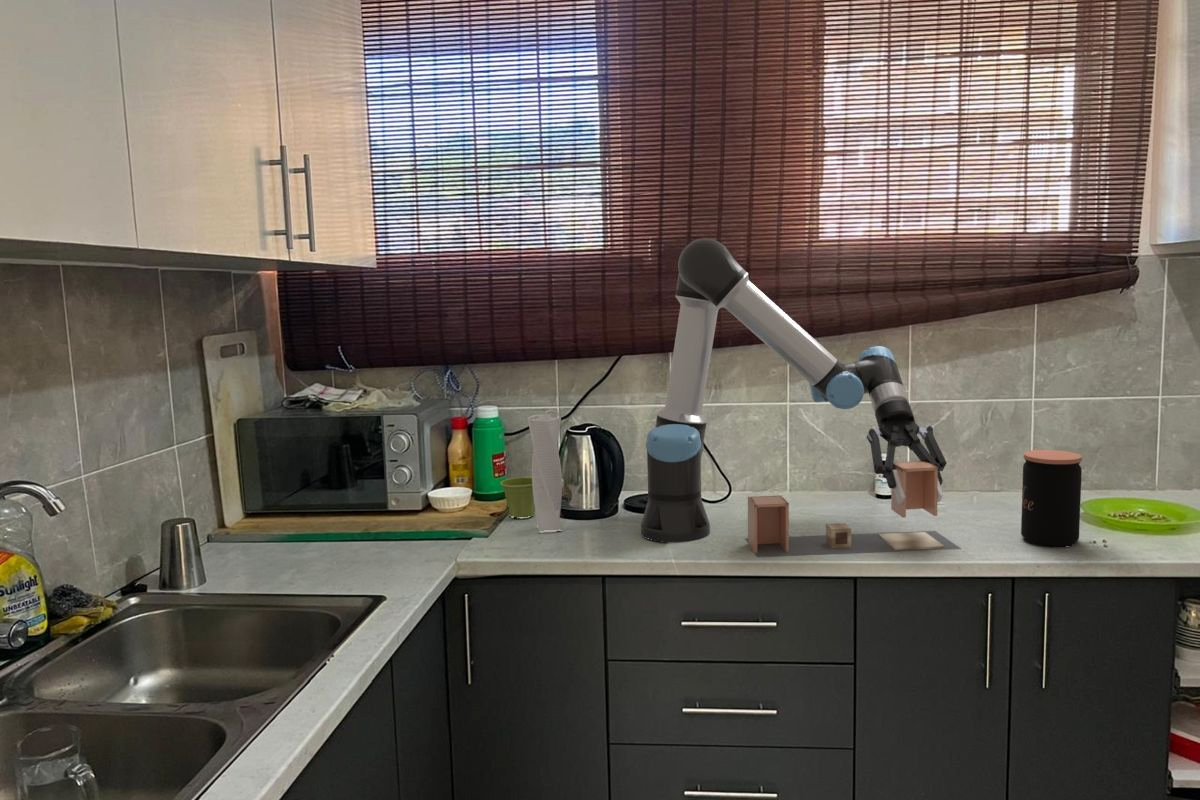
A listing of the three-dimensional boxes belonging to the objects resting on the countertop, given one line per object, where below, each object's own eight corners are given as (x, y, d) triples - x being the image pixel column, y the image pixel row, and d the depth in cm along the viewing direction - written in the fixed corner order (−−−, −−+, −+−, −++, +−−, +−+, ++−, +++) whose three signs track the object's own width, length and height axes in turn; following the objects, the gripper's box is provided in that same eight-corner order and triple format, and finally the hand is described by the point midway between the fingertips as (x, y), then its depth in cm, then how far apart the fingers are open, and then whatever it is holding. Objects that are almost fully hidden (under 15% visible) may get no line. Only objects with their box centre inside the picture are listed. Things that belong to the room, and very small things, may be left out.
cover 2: (902, 517, 179) (902, 468, 177) (891, 509, 185) (891, 462, 184) (937, 515, 179) (937, 467, 178) (924, 507, 185) (924, 460, 184)
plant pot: (509, 523, 208) (507, 487, 207) (497, 514, 217) (495, 480, 216) (546, 518, 212) (545, 482, 211) (533, 509, 221) (531, 475, 219)
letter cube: (831, 548, 180) (831, 529, 180) (826, 542, 184) (826, 523, 184) (851, 547, 180) (851, 528, 180) (845, 541, 184) (845, 523, 184)
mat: (757, 559, 176) (757, 557, 176) (744, 540, 189) (744, 538, 189) (961, 550, 177) (961, 548, 177) (935, 532, 190) (935, 530, 190)
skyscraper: (568, 533, 199) (563, 409, 195) (535, 536, 197) (530, 411, 193) (562, 524, 206) (557, 405, 203) (530, 527, 205) (525, 407, 201)
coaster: (895, 549, 178) (895, 547, 178) (878, 535, 188) (878, 534, 188) (944, 547, 178) (944, 545, 178) (924, 533, 188) (924, 532, 188)
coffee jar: (1025, 531, 189) (1028, 448, 187) (1082, 538, 183) (1085, 452, 181) (1015, 543, 180) (1018, 457, 178) (1074, 551, 174) (1078, 461, 172)
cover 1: (754, 552, 179) (753, 504, 177) (748, 543, 185) (747, 496, 184) (788, 551, 179) (788, 503, 178) (781, 542, 185) (781, 495, 184)
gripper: (932, 416, 195) (963, 507, 181) (842, 420, 195) (867, 511, 181) (942, 395, 189) (975, 487, 175) (849, 400, 189) (875, 492, 175)
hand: (920, 499), depth 178 cm, fingers closed on cover 2, 7 cm apart
